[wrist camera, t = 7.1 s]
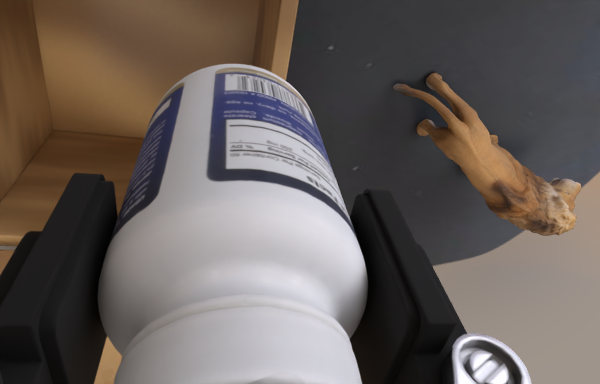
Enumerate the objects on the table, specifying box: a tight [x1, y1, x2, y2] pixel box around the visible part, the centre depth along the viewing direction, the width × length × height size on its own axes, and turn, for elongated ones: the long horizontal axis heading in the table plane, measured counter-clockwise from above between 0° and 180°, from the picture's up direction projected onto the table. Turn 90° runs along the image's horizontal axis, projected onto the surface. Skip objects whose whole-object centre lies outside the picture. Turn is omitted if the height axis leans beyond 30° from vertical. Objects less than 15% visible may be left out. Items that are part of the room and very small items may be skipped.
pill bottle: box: [97, 64, 368, 384], centre depth 10 cm, size 5×5×10 cm
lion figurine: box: [394, 73, 581, 236], centre depth 31 cm, size 15×5×9 cm, turn 55°
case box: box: [0, 0, 299, 246], centre depth 23 cm, size 15×14×12 cm
